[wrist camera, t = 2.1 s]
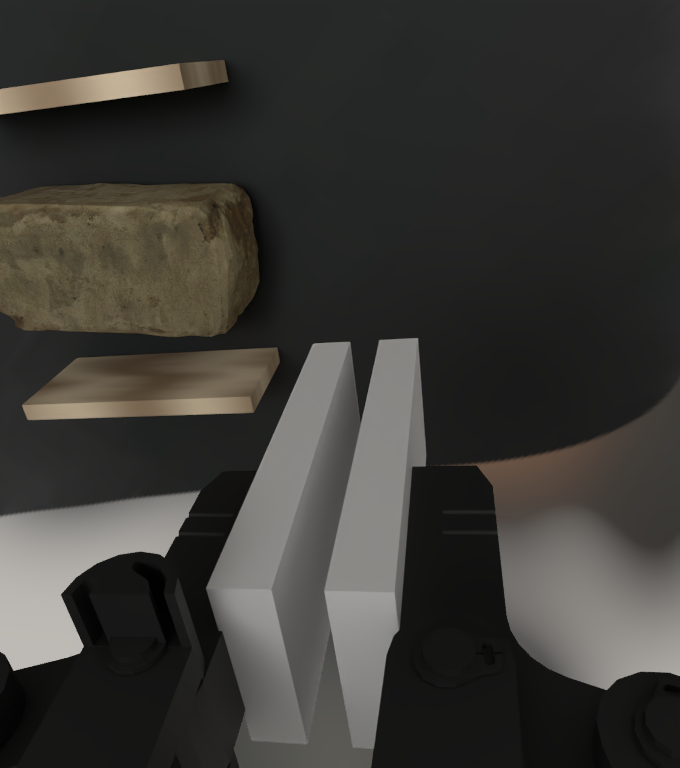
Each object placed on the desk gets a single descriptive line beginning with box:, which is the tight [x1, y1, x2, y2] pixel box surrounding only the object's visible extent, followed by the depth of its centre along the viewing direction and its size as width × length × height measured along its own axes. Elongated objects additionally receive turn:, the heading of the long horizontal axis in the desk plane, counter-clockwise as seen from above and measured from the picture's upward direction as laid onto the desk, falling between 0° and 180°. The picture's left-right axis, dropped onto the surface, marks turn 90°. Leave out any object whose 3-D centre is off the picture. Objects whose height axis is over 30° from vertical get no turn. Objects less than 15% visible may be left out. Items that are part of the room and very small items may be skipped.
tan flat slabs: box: [0, 60, 280, 420], centre depth 27 cm, size 11×14×5 cm
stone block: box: [0, 183, 260, 337], centre depth 28 cm, size 6×12×5 cm, turn 93°
